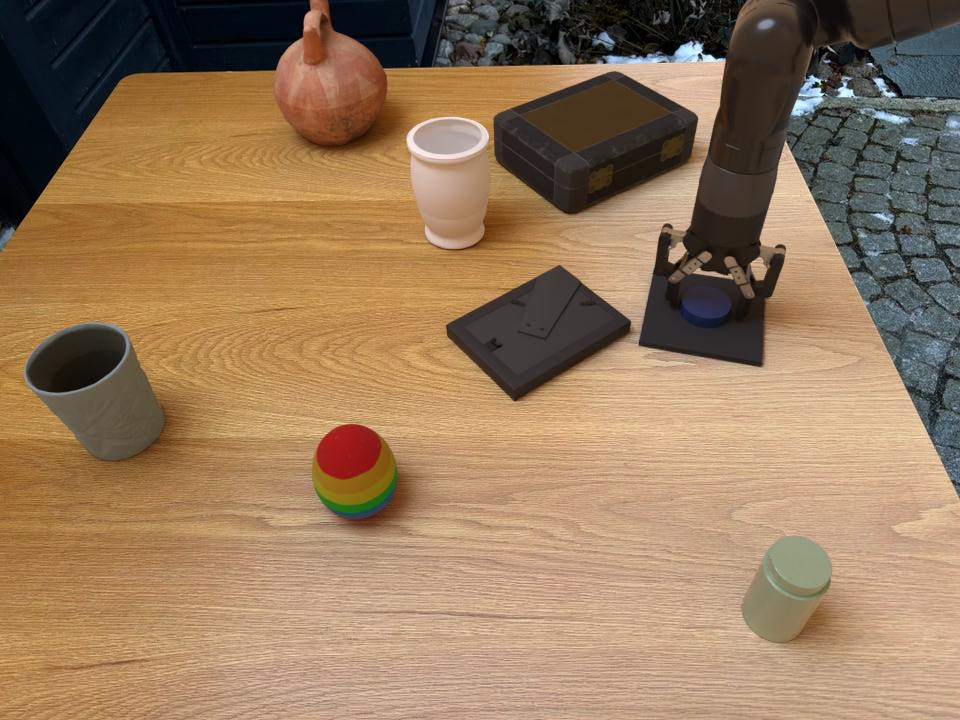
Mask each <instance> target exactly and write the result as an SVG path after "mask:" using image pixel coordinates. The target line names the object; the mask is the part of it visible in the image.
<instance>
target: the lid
mask: <svg viewBox="0 0 960 720" xmlns="http://www.w3.org/2000/svg"><path fill="white" fill-rule="evenodd" d="M679 307H680V312H681V316H683V318H684V319H685V320H686V321H688V322H689V323H691V324H693V325H695V326H698V327H703V328H713V327H718V326H720V325H722V324H724V323H726V321H727V319H728V317H729V315H730V312H731V309H732V308H731V300H730V298H729V297H728V296H727V295H726V294H725V293H724V292H722V291H721V290H719V289H716V288H713V287H709V286H697V287H693V288H690V289H688V290H687V291H686V292H685V293H684V294H683V296H682V300H681V301H680V306H679Z"/></svg>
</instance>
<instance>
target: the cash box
mask: <svg viewBox="0 0 960 720" xmlns="http://www.w3.org/2000/svg"><path fill="white" fill-rule="evenodd" d="M698 123H699V116H698V115H697V114H696V112H694V111H692V110H690V109H689V108H687V107H685V106H683V105H681V104H679V103H678V102H676V101H674V100H672V99H670V98H669V97H667V96H665V95H663V94H662V93H659V92H658V91H656V90H654V89H652V88H650V87H649V86H646V85H644V84H643V83H641V82H639V81H638V80H635V79H634V78H631V77H630V76H628V75H627V74H624V73H623V72H620V71H617V70H613V71H607V72H605V73H602V74H600V75H597V76H595V77H591V78H589V79H586V80H584V81H580V82H578V83H575V84H573V85H570V86H567V87H565V88H561V89H559V90H556V91H554V92H551V93H548V94H545V95H543V96H540V97H538V98H535V99H532V100H529V101H526V102H524V103H522V104H519V105H516V106H513V107H511V108H508V109H505V110H503V111H500V112H498V113H497V114H495V115H494V116H493V151H494V153H493V154H494V155H493V156H494V158H495V160H496V162H497V163H499V164H500V165H502V166H503V167H504V168H505V169H507V170H508V171H509V172H510V173H512V174H513V175H515V176H516V177H517V178H518V179H520V180H521V181H522V182H523V183H525V184H527V186H529V187H530V188H531V189H532V190H534V191H535V192H536V193H538V194H540V195H541V196H542V197H543V198H545V199H546V200H547V201H549V202H550V203H551V204H552V205H554V206H555V207H556V208H557V209H559V210H560V211H563V212H566V213H575V212H579V211H580V210H583V209H585V208H587V207H589V206H591V205H594V204H596V203H598V202H600V201H603V200H605V199H607V198H610V197H611V196H614V195H616V194H618V193H621V192H623V191H625V190H627V189H630V188H632V187H634V186H636V185H638V184H641V183H643V182H645V181H647V180H650V179H652V178H654V177H657V176H659V175H661V174H663V173H665V172H667V171H670V170H671V169H674V168H676V167H679V166H681V165H683V164H685V163H687V162H689V160H691V157H692V155H693V150H694V144H695V140H696V134H697V129H698Z"/></svg>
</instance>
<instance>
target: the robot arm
mask: <svg viewBox="0 0 960 720" xmlns="http://www.w3.org/2000/svg"><path fill="white" fill-rule="evenodd" d="M736 18H737V19H736V21H735V24H734V27H733V30H732V33H731V36H730V39H729V42H728V47H727V51H726V57H725V61H724V68H723V75H722V81H721V89H720V97H719V106H718V109H717V112H716V115H715V118H714V121H713V126H712V131H711V135H710V140H709V145H708V149H707V153H706V157H705V159H704V163H703V165H702V167H701V171H700V175H699V180H698V186H697V191H696V196H695V200H694V206H693V210H692V215H691V219H690V224H689V227H688V228H687V229H686V230H682V229H681V230H680V229H675V228H674V226H673V225H672V224H671V223H664V224H663V225H662V227H661V231H660V233H659V236H658V239H657V246H656V255H655V261H654V267H655V268H654V267H653V271H654V274H655V275H656V276H659V277H660V276H664V277H666V278H667V280H668V285H667V290H666V295H665V298H666V300H667V301H670V306H675V305H676V302H677V298H678V294H679V289H680V284H681V279H683V278H684V277H685V276H689V275H690V274H691V273H694V272H695V271H697V270H698V269H700V272H701V271H702V272H706V273H710V272H711V273H717V274H719V275H722V276H726V277H727V276H728V277H729V275H731V277H732V279H734V281H735V283H736V285H737V286H739V287H740V289H741V294H740V297H739V301H738V304H737V308H736V312H735V317H734V319H736V320H740V319H741V316H743V317H746V316H747V315H748V313H749V310H750V306H751V303H752V300H753V298H754V297H756V296H762V297H763V298H765V299H770V298H771V297H773V294H774V292H775V289H776V286H777V283H778V281H779V278H780V276H781V272H782V269H783V267H784V264H785V258H786V254H787V253H786V252H787V246H786V245H785V244H783V243H777V245H775V247H773V246H768V245H762V242H761V236H762V232H763V228H764V225H765V223H766V218H767V215H768V211H769V208H770V204H771V202H772V198H773V195H774V193H775V187H776V183H777V179H778V171H779V165H780V161H781V159H782V158H781V157H782V154H783V150H784V147H785V143H786V140H787V137H788V133H789V129H790V122H791V115H792V113H793V110H794V108H795V106H796V103H797V101H798V98H799V96H800V92H801V90H802V87H803V84H804V82H805V78H806V76H807V72H808V69H809V66H810V63H811V60H812V56H813V51H814V50H815V49H819V48H823V47H829V46H833V45H839V44H843V43H849V42H851V44H853V45H854V46H855V47H856V48H858V49H860V50H873V49H875V50H876V49H879V48H884V47H888V46H892V45H894V44H896V43H897V44H898V43H901V42H905V41H908V40H911V39H914V38H918V37H921V36H925V35H928V34H931V33H934V32H938V31H942V30H944V29H947V28H951V27H953V26H956V25H958V24H959V25H960V0H747V1H746V2H745V3H744V4H743V5H742V7H741V9H740V10H739V13H738V15H737V17H736ZM680 243H682V246H683V247H684V249H685V250H686V251H685V252H684V254H683V255H682V257H680V258H679V259H678V260H677V261H675V262H671V261H669V258H670V252H671V250H672V249H675V248H676V247H677V246H678V244H680ZM758 258H760V259H762V261H763V262H762V263H763V266H764V267H765V268H766V272H765V274H764V277H763V279H757V278H756V276H755V274H754V272H753V269H752V264H751V263H753V262H754V261H756V260H758Z"/></svg>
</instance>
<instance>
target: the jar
mask: <svg viewBox="0 0 960 720" xmlns="http://www.w3.org/2000/svg"><path fill="white" fill-rule="evenodd" d="M489 144H490V137H489V132H488V130H487V129H486V127H485V126H484V125H482V124H481V123H479V122H478V121H475V120H472V119H469V118H465V117H459V116H444V117H443V116H440V117H435V118H431V119H427V120H424V121H422V122H420V123H418V124H416V125H415V126H413V127H412V128H411V129H410V130H409V132H408V133H407V135H406V146H407V149H408V151H409V153H410V154H411V157H410V167H409V169H410V171H409V172H410V183H411V188H412V193H413V195H414V199H415V201H416V204H417V208H418V212H419V215H420V218H421V219H422V222H424V224H425V227H424V235H425V237H426V239H427V241H428V242H429V243H431V244H432V245H434V246H436V247H437V248H442V249H445V250H462V249H466V248H470V247H472V246H474V245H476V244H477V243H478V242H480V241H481V240H482V238H483V237H484V235H485V231H486V227H485V224H484V222H483V221H484V220H485V217H486V214H487V210H488V204H489V196H490V191H491V181H492V180H491V179H492V178H491V176H492V175H491V165H490V159H489V154H488V152H487V149H488V147H489Z"/></svg>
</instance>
